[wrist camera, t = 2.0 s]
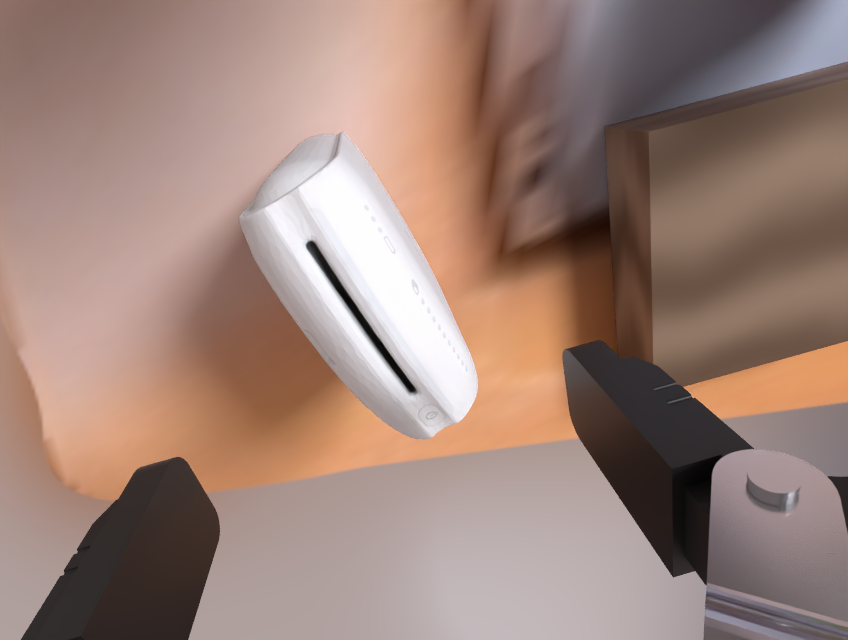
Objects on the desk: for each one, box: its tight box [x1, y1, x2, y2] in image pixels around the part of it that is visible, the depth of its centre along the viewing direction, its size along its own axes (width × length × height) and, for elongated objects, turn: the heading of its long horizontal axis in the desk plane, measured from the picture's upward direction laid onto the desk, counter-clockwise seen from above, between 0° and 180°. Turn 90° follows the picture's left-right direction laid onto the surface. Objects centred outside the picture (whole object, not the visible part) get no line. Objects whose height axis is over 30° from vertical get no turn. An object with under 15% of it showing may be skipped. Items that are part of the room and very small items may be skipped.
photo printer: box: [239, 132, 478, 439], centre depth 19 cm, size 10×4×12 cm, turn 29°
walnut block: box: [604, 62, 848, 387], centre depth 25 cm, size 14×14×4 cm
